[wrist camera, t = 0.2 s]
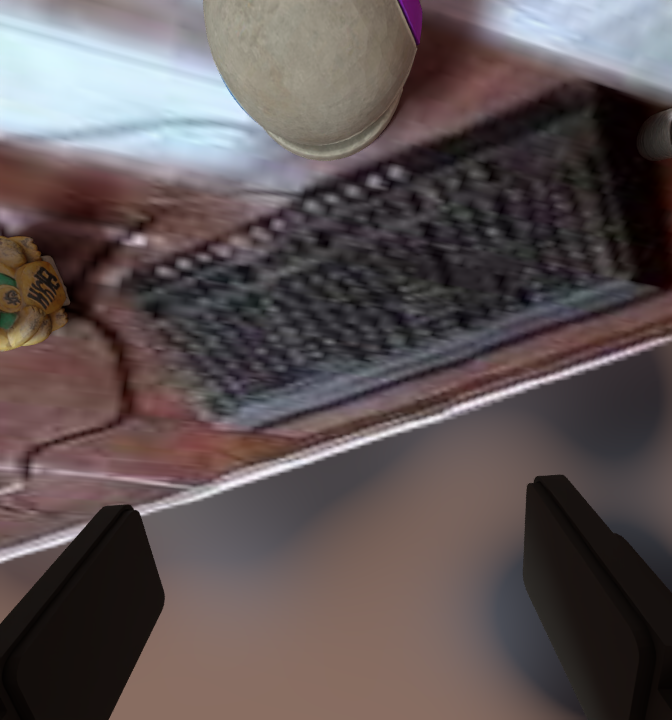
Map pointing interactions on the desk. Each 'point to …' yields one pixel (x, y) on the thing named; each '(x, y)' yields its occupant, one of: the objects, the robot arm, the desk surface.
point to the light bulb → (656, 137)
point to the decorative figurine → (28, 294)
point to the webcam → (315, 67)
